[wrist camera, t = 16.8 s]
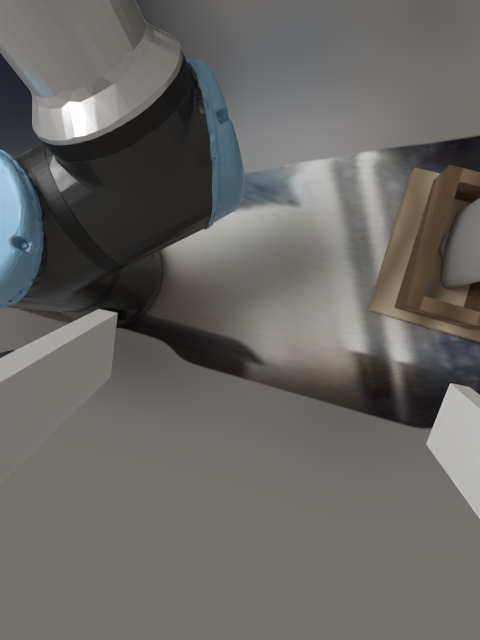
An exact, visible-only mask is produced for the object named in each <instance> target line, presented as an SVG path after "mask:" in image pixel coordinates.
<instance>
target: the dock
mask: <svg viewBox="0 0 480 640" xmlns="http://www.w3.org/2000/svg"><path fill="white" fill-rule="evenodd" d="M479 198H480V172H477V171H473V170H468V169H464V168H460V167H456V166H452V165H449V166H448V167H447V168H446V169H445V170H444V171H443V172H442V173H441V174H440V173H436V172H432V171H428V170H424V169H420V168H414V169H413V170H412V171H411V173H410V176H409V179H408V182H407V185H406V189H405V192H404V195H403V198H402V201H401V205H400V208H399V211H398V214H397V218H396V221H395V224H394V227H393V231H392V234H391V237H390V240H389V244H388V247H387V250H386V253H385V257H384V260H383V263H382V266H381V270H380V273H379V276H378V279H377V283H376V286H375V289H374V292H373V295H372V299H371V302H370V305H369V308H368V311H372V312H375V313H379V314H382V315H385V316H389V317H392V318H396V319H399V320H403V321H406V322H409V323H413V324H416V325H420V326H423V327H426V328H430V329H433V330H437V331H440V332H444V333H447V334H450V335H454V336H457V337H461V338H464V339H468V340H471V341H474V342H478V343H480V281H479V282H475V283H471V284H467V285H462V286H458V287H454V288H450V289H446V288H445V287H443V285H442V282H441V269H442V258H441V257H440V255H439V251H438V250H439V246H440V242H441V240H442V239H443V237H444V236H446V235H447V234H449V231H450V229H451V226H452V224H453V221H454V219H455V216H456V215H457V214H458V213H459V212H460V211H461V210H462V209H464V208H465V207H467V206H468V205H470V204H471V203H473V202H474V201H476V200H477V199H479Z"/></svg>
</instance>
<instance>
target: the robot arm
mask: <svg viewBox="0 0 480 640" xmlns="http://www.w3.org/2000/svg"><path fill="white" fill-rule="evenodd" d="M0 53H1V54H2V55H3V56H4V58H5V59H6V60H7V61H8V63H9V64H10V65H11V66H12V68H13V69H14V70H15V72H16V73H17V74H18V75H19V77H20V78H21V79H22V80H23V81H24V83H25V84H26V86H27V87H28V88H29V89H30V91H31V93H32V97H33V110H32V111H33V112H32V115H33V116H32V125H33V129H34V131H35V132H36V134H37V135H38V137H39V138H40V139H41V140H42V142H43V143H42V144H41V145H39V146H37V147H35V148H33V149H31V150H29V151H27V152H26V153H24V154H22V155H20V156H18V157H16V158H14V157H12V156H10V155H9V154H7V153H6V152H4V151H2V150H0V308H1V307H2V308H5V307H11V308H23V309H35V310H48V311H60V312H62V313H63V314H64V315H66V316H67V317H69V318H70V319H71V320H73V321H74V322H72V323H70V324H68V325H66V326H64V327H62V328H60V329H58V330H56V331H54V332H52V333H50V334H48V335H46V336H44V337H42V338H40V339H38V340H36V341H34V342H32V343H30V344H28V345H26V346H24V347H22V348H20V349H18V350H11V351H7V352H3V353H0V483H2V481H4V480H5V479H6V478H7V477H8V476H9V475H10V474H11V473H12V472H13V471H14V470H15V469H16V468H17V467H18V466H19V465H20V464H21V463H22V462H23V461H24V460H25V459H26V458H27V457H28V456H30V455H31V454H32V453H33V452H34V451H35V450H36V448H38V447H39V446H40V445H41V444H42V443H43V442H44V441H45V440H46V439H47V438H48V437H49V436H50V435H51V434H52V433H53V432H54V431H55V430H56V429H57V428H58V427H59V426H60V425H61V424H62V423H64V422H65V421H66V419H68V418H69V417H70V416H71V415H72V414H73V413H74V412H75V411H76V410H77V409H78V408H79V407H80V406H81V405H82V404H83V403H84V402H85V401H86V400H87V399H88V398H89V397H90V396H91V395H92V394H93V393H94V392H95V391H96V390H98V389H99V388H100V387H101V386H102V385H103V384H104V383H105V382H106V381H107V380H108V379H109V378H110V377H111V371H112V361H113V352H114V342H115V332H116V328H119V327H123V326H126V325H128V324H131V323H133V322H134V321H136V320H138V319H139V318H140V317H142V316H143V315H144V314H145V313H146V312H147V311H148V310H149V309H150V308H151V306H152V305H153V303H154V302H155V300H156V298H157V296H158V294H159V291H160V288H161V284H162V278H163V264H162V259H161V255H160V252H159V251H160V250H162V249H164V248H166V247H168V246H170V245H172V244H174V243H176V242H178V241H180V240H182V239H184V238H186V237H188V236H190V235H192V234H194V233H196V232H198V231H200V230H202V229H208V228H209V227H211V226H212V225H213V223H214V222H216V221H218V220H219V219H221V218H223V217H225V216H226V215H228V214H230V213H232V212H234V211H235V210H236V209H237V208H238V207H239V205H240V203H241V202H242V201H243V198H244V194H245V176H244V169H243V164H242V158H241V154H240V150H239V145H238V141H237V138H236V134H235V131H234V128H233V124H232V122H231V121H230V119H229V117H228V111H227V107H226V104H225V100H224V97H223V94H222V92H221V89H220V87H219V84H218V82H217V80H216V78H215V76H214V74H213V72H212V70H211V69H210V67H209V66H208V64H207V63H206V62H205V61H203V60H200V59H198V60H193V59H189V60H188V61H186V59H185V56H184V54H183V51H182V49H181V46H180V44H179V42H178V41H177V39H176V38H174V37H173V36H172V35H170V34H167V33H165V32H163V31H161V30H159V29H157V28H155V27H153V26H151V25H149V24H147V23H146V22H145V21H144V19H143V17H142V14H141V12H140V10H139V8H138V5H137V3H136V1H135V0H0ZM426 445H427V446H428V447H429V449H430V450H431V452H432V453H433V454H434V456H435V457H436V458H437V460H438V461H439V463H440V464H441V466H442V467H443V468H444V470H445V471H446V472H447V474H448V475H449V477H450V478H451V479H452V481H453V482H454V484H455V485H456V486H457V488H458V489H459V491H460V492H461V493H462V495H463V496H464V497H465V499H466V500H467V502H468V503H469V504H470V506H471V507H472V509H473V510H474V511H475V513H476V514H477V516H478V517H479V518H480V395H479V394H478V393H476V392H475V391H474V390H473V389H471V388H470V387H466V386H461V385H457V384H452V383H450V385H449V387H448V390H447V392H446V395H445V397H444V400H443V403H442V405H441V408H440V410H439V413H438V415H437V418H436V420H435V423H434V425H433V428H432V430H431V433H430V436H429V438H428V441H427V443H426Z"/></svg>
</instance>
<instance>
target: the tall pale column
mask: <svg viewBox="0 0 480 640" xmlns="http://www.w3.org/2000/svg"><path fill="white" fill-rule="evenodd" d="M438 251H439V255H440V257H441V258H442V269H441V282H442V285H443V287H445V288H446V289H450V288H454V287H458V286H462V285H467V284H471V283H475V282H479V281H480V198H479V199H477V200H476V201H474V202H473V203H471V204H470V205H468V206H467V207H465V208H464V209H462V210H461V211H460V212H459V213H458V214H457V215H456V216H455V219H454V221H453V224H452V226H451V229H450V231H449V234H447V235H446V236H444V237H443V239H442V240H441V242H440V246H439V250H438Z"/></svg>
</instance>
